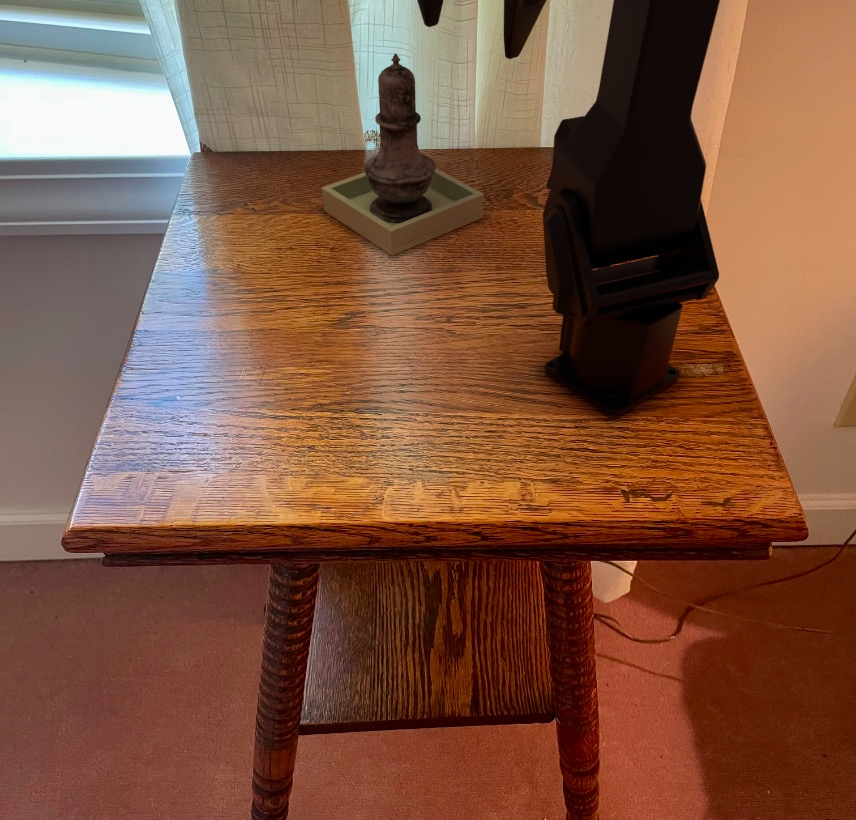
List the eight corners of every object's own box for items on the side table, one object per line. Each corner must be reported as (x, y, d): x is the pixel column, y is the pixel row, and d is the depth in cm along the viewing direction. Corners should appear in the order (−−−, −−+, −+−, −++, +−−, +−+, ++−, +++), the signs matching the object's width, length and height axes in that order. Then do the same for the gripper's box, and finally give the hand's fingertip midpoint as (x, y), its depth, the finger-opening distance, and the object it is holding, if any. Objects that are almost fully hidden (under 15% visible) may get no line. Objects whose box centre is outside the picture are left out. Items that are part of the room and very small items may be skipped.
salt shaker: (383, 231, 67) (375, 73, 58) (355, 200, 70) (343, 47, 62) (447, 215, 69) (449, 59, 60) (417, 186, 72) (414, 35, 63)
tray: (483, 217, 69) (484, 193, 68) (391, 256, 65) (390, 231, 64) (412, 178, 75) (412, 155, 73) (323, 211, 71) (321, 187, 69)
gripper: (282, -243, 52) (310, 33, 63) (478, -216, 42) (469, 106, 53) (421, -256, 56) (424, 3, 68) (627, -234, 46) (590, 65, 58)
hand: (470, 41), depth 61 cm, fingers open, 9 cm apart
